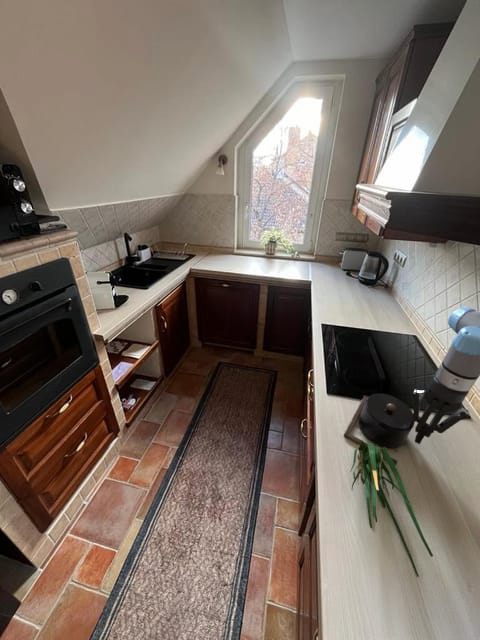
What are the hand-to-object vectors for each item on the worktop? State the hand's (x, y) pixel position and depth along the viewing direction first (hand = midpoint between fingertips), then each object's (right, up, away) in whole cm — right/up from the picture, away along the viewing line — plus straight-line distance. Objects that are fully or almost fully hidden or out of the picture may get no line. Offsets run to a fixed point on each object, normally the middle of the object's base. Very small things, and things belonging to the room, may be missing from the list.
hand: (417, 439), depth 77 cm
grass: (-20, -11, -11) cm, 25 cm away
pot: (-7, 0, +7) cm, 10 cm away
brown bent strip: (-8, +1, +8) cm, 11 cm away
